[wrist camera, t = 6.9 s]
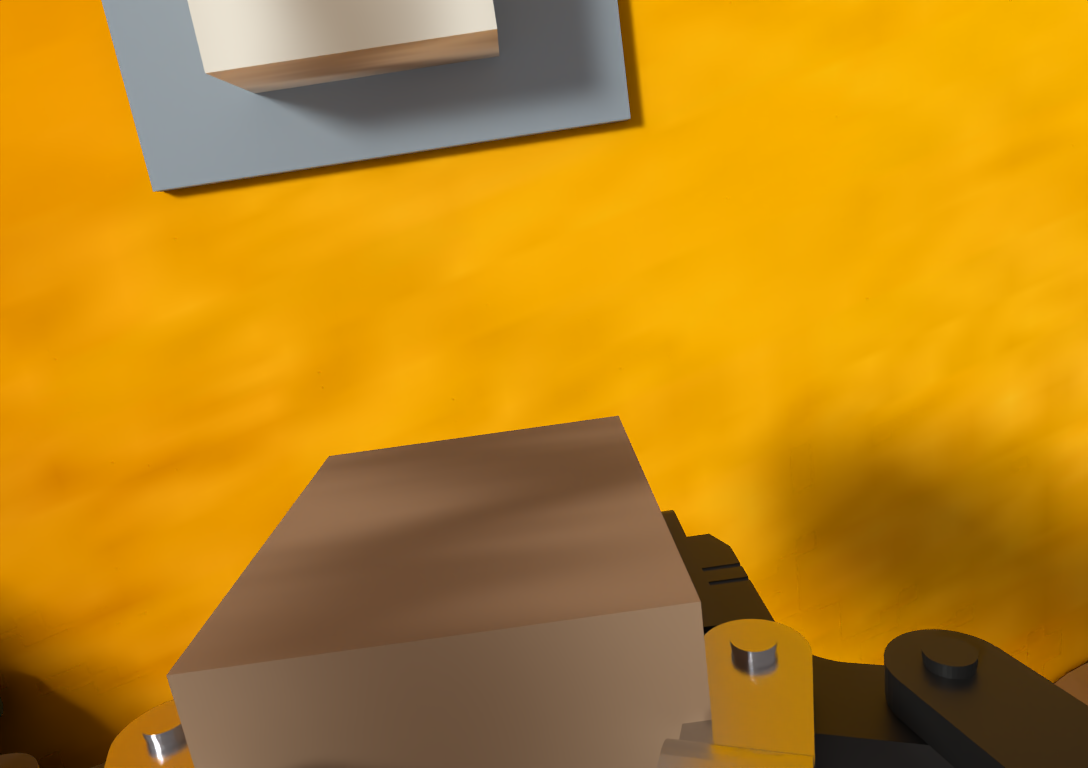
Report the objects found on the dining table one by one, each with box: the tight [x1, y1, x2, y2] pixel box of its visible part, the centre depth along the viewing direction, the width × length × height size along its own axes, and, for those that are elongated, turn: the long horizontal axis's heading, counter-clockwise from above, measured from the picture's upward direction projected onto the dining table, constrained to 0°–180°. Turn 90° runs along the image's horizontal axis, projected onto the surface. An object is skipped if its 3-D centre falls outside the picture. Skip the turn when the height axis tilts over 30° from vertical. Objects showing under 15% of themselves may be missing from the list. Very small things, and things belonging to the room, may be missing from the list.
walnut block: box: [167, 416, 712, 768], centre depth 10 cm, size 5×5×6 cm
